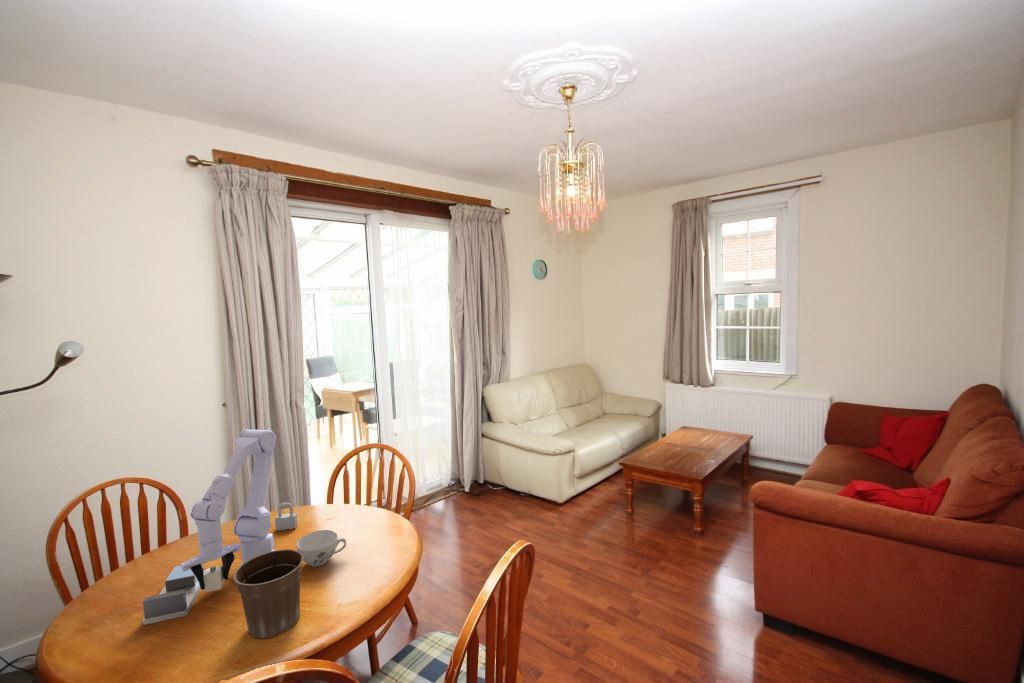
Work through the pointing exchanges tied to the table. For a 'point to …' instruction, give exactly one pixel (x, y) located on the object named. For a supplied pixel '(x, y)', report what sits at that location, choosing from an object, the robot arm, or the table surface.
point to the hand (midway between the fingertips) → (214, 583)
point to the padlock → (286, 518)
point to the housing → (213, 578)
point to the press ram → (180, 578)
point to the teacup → (319, 547)
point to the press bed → (189, 600)
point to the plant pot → (270, 591)
